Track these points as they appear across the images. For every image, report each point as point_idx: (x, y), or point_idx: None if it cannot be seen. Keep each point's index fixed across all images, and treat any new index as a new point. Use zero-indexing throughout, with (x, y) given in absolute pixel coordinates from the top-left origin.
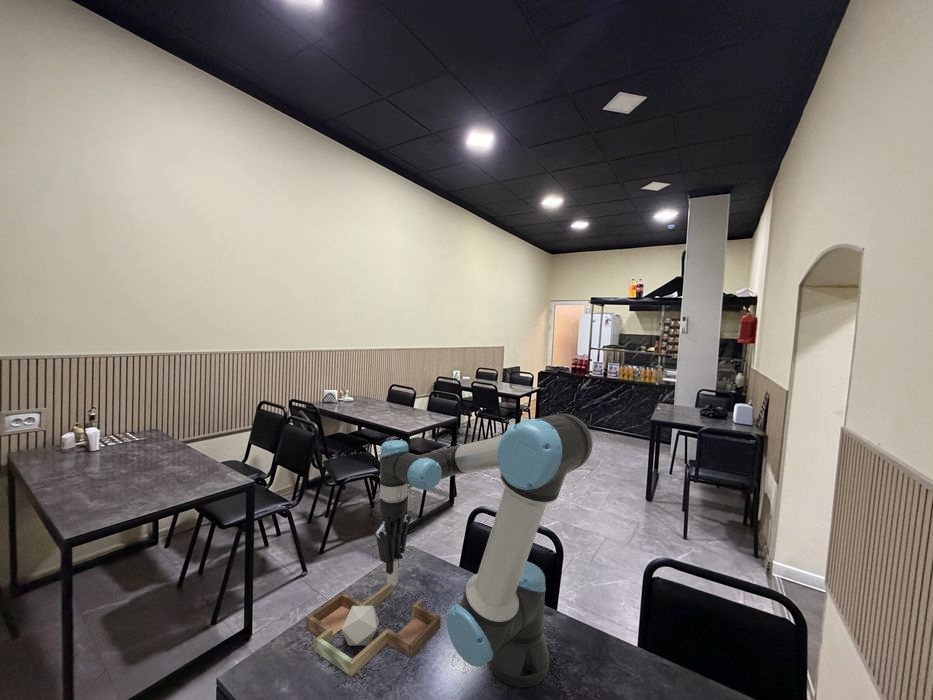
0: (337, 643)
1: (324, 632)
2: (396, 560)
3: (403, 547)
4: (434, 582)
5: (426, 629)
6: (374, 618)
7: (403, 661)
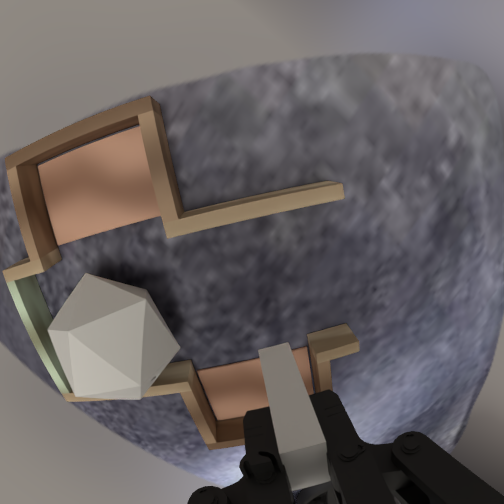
0: (70, 278)
1: (23, 267)
2: (312, 485)
3: (412, 497)
4: (455, 251)
5: None
6: (138, 394)
7: (190, 423)
